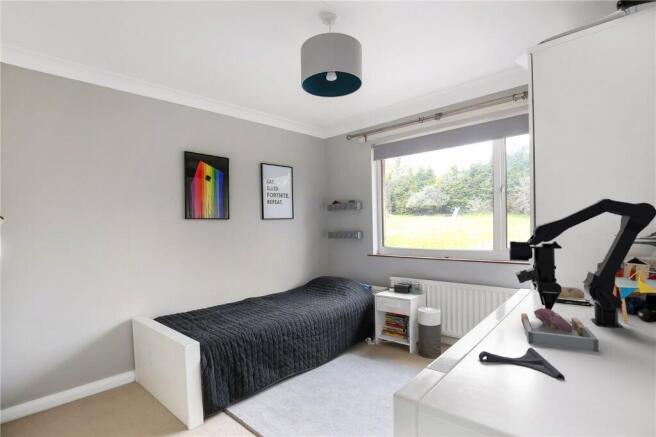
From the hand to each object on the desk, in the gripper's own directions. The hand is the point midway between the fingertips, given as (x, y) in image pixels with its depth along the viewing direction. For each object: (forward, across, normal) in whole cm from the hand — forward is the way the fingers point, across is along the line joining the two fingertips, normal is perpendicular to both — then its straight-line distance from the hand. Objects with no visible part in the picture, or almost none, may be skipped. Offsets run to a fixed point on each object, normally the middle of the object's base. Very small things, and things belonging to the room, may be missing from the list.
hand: (545, 308), depth 109 cm
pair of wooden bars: (+3, +11, 0) cm, 11 cm away
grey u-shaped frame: (+3, +22, 0) cm, 22 cm away
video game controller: (+4, +10, 0) cm, 11 cm away
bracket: (+4, +42, -12) cm, 44 cm away
